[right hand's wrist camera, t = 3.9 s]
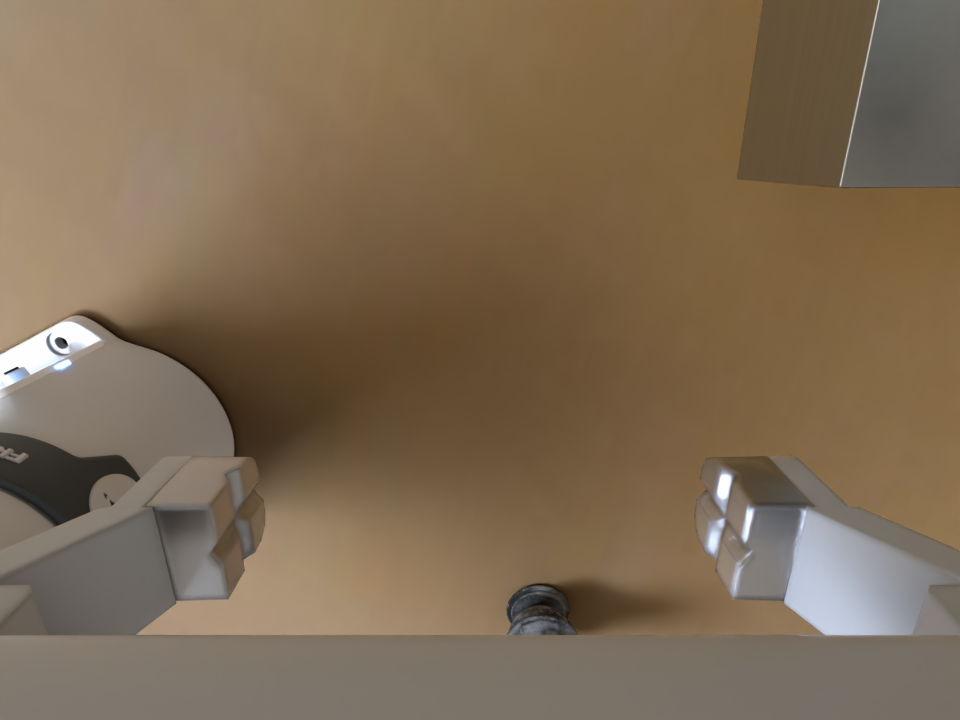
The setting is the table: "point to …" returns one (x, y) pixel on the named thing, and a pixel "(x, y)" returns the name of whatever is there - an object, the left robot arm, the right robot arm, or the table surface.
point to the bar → (855, 95)
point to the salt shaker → (539, 612)
